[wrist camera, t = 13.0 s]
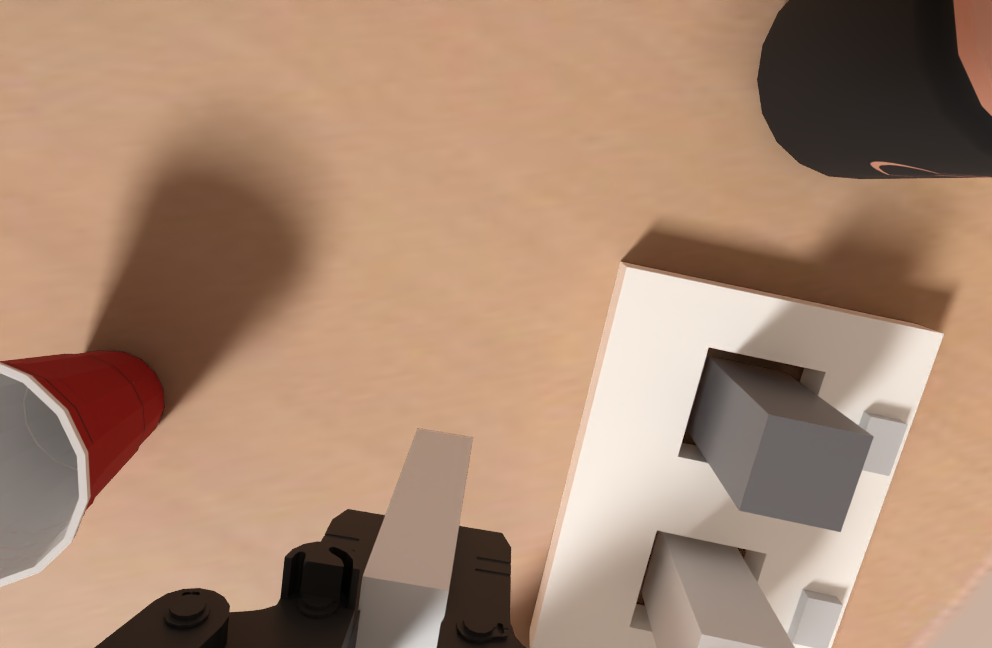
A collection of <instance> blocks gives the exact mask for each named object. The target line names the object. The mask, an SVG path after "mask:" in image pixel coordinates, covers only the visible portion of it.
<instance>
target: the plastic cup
mask: <svg viewBox="0 0 992 648" xmlns="http://www.w3.org/2000/svg"><path fill="white" fill-rule="evenodd" d="M164 407H165V406H164V393H163V388H162V386H161V384H160V382H159V380H158V378H157V376H156V373H155V372H154V371H153V370H152V369H151V368H150V367H149V366H148V365H146V364H145V363H144V362H143V361H142V360H141V359H139V358H136V357H134V356H132V355H130V354H127V353H125V352H116V351H93V352H86V353H80V354H59V355H51V356H42V357H34V358H25V359H17V360H8V361H0V587H2V586H4V585H7V584H10V583H13V582H15V581H18V580H21V579H24V578H26V577H29V576H32V575H35V574H37V573H40V572H41V571H42V570H43V569H44V568H45V567H46V566H47V565H48V564H49V563H50V562H51V561H52V560H54V559H55V558H56V557H57V556H58V555H59V554H60V553H61V552H62V551H63V550H64V549H65V548H66V547H67V546H68V545H69V544H70V543H71V542H72V541H73V539H74V538H75V536H76V533H77V531H78V528H79V525H80V523H81V520H82V518H83V516H84V514H85V511H86V509H87V508H88V507H89V506H90V505H91V504H92V503H93V501H94V498H95V497H96V496H97V495H98V494H99V493H100V491H101V490H102V489H103V488H104V487H105V486H106V485H107V484H108V483H109V481H110V480H111V479H112V478H113V477H114V476H115V475H116V474H117V473H118V472H119V470H120V469H121V468H122V467H123V466H124V465H125V464H126V463H127V462H128V460H129V459H130V458H131V457H132V456H133V455H134V454H135V453H136V452H137V451H138V448H139V446H140V445H141V444H142V443H143V441H144V440H145V439H146V438H147V437H148V436H149V435H150V434H151V433H152V432H153V431H154V430H155V429H156V427H157V424H158V423H159V421H160V418H161V415H162V412H163V410H164Z"/></svg>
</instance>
